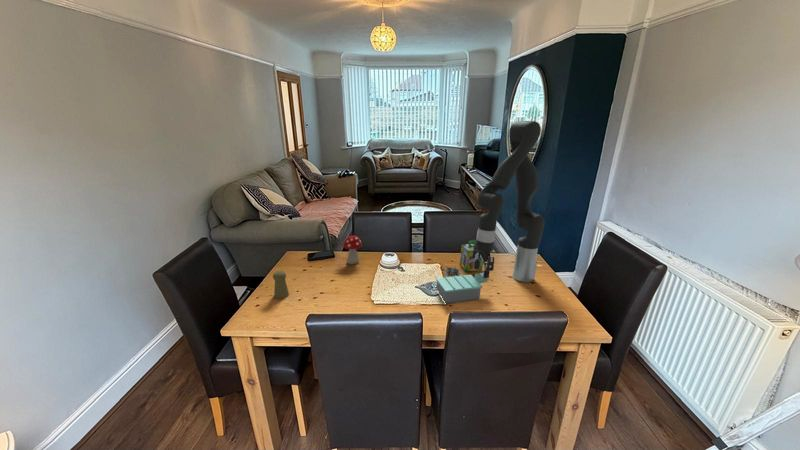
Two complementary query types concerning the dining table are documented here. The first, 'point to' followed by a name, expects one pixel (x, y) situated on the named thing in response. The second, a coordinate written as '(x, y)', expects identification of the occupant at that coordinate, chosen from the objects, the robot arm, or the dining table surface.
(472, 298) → the tub
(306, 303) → the dining table surface
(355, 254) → the decorative mushroom
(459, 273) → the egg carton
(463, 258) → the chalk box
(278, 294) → the olive pawn figure
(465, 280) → the lid
